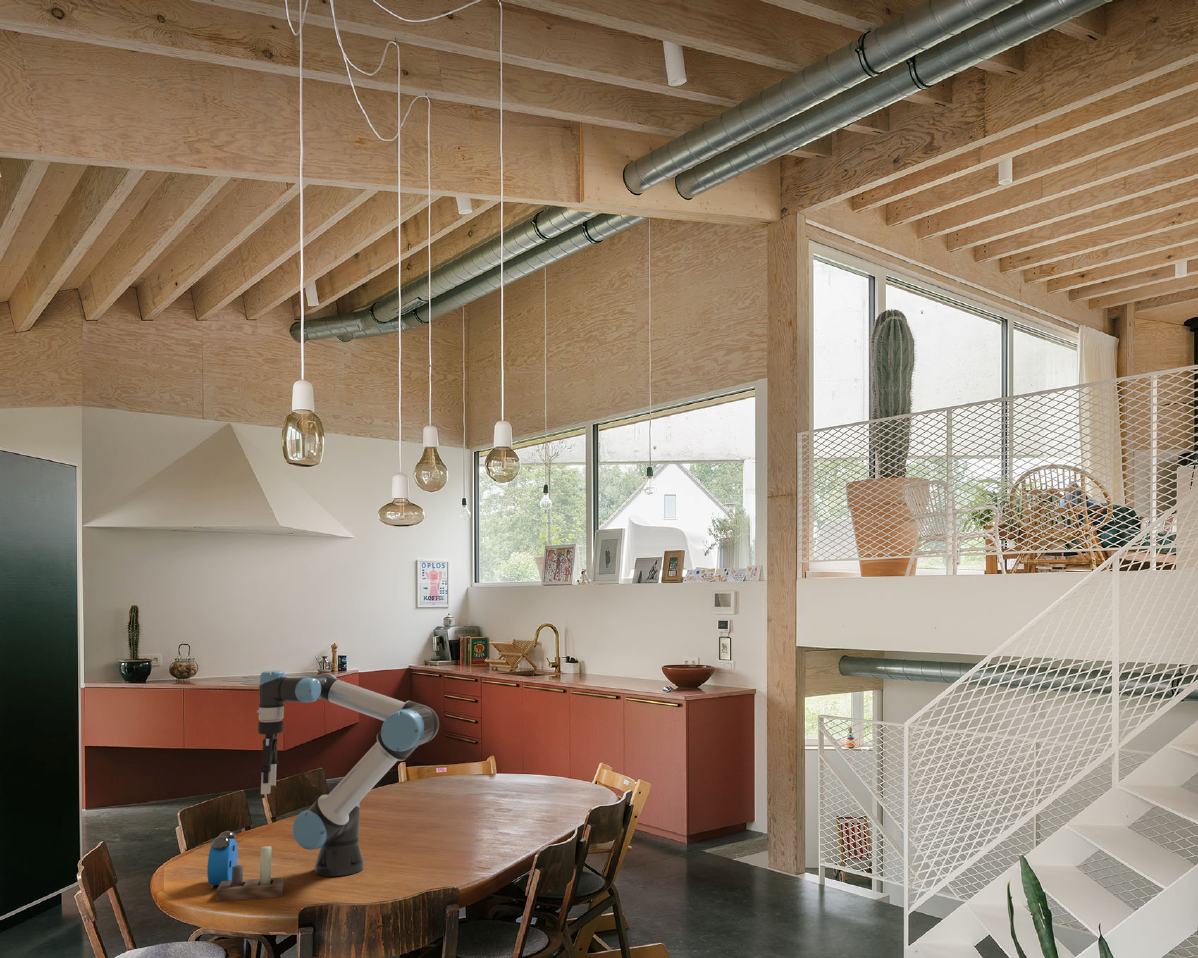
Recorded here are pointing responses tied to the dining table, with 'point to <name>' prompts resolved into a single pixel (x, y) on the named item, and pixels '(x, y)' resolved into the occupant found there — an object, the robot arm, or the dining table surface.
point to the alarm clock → (222, 858)
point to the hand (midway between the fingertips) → (268, 789)
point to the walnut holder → (248, 887)
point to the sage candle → (265, 865)
